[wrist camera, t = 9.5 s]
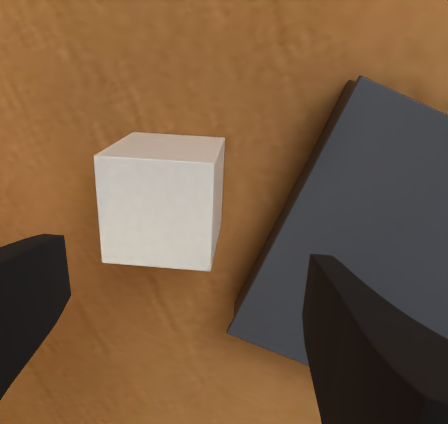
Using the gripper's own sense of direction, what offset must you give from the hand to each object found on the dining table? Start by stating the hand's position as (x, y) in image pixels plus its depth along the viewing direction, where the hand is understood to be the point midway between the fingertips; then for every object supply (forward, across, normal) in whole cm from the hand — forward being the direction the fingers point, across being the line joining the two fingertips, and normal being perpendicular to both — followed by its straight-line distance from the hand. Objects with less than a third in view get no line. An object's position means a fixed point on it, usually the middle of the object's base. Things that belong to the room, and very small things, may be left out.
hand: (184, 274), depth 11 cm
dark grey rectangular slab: (+8, -8, +2) cm, 12 cm away
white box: (+8, +2, 0) cm, 9 cm away
